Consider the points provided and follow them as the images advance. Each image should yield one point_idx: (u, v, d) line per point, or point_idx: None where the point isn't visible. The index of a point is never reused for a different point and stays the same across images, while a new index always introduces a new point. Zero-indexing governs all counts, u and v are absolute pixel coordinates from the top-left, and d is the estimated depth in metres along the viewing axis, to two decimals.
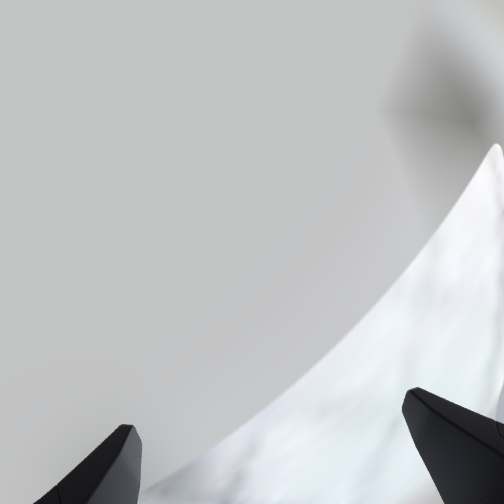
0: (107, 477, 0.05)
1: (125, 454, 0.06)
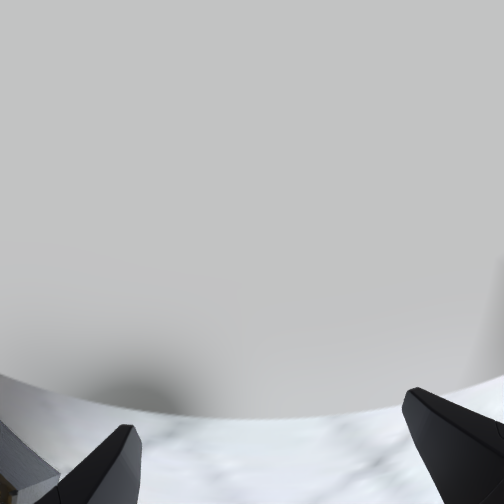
0: (107, 477, 0.05)
1: (125, 454, 0.06)
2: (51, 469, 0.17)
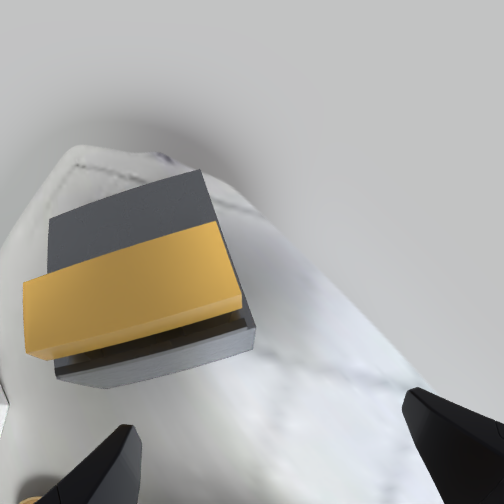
0: (107, 477, 0.05)
1: (125, 454, 0.06)
2: None
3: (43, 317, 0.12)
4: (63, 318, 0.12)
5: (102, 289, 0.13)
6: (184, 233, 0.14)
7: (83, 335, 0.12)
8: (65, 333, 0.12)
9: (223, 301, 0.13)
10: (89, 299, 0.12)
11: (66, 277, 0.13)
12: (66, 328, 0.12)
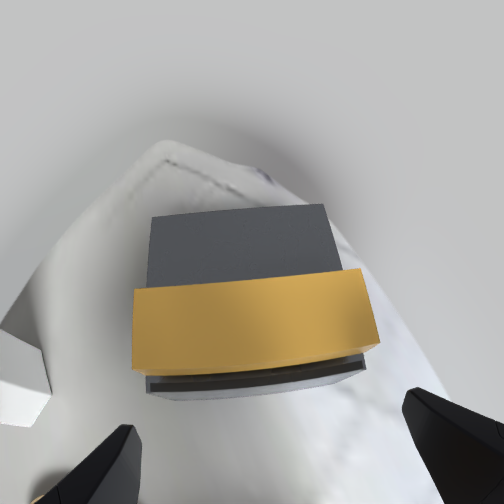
0: (107, 477, 0.05)
1: (125, 454, 0.06)
2: None
3: (161, 334, 0.13)
4: (190, 340, 0.13)
5: (242, 317, 0.13)
6: (332, 275, 0.14)
7: (216, 362, 0.12)
8: (191, 357, 0.12)
9: (362, 347, 0.13)
10: (226, 325, 0.13)
11: (196, 295, 0.14)
12: (193, 351, 0.12)
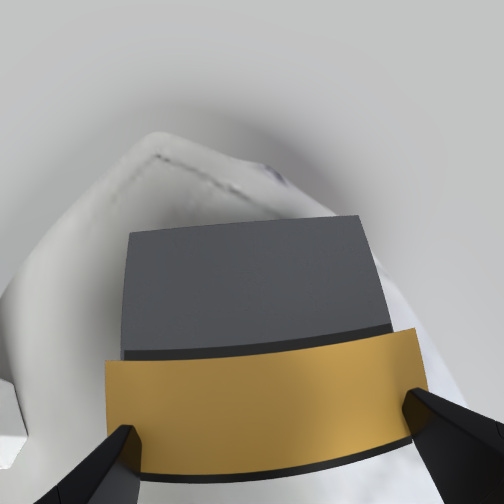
0: (107, 477, 0.05)
1: (125, 454, 0.06)
2: None
3: (145, 428, 0.08)
4: (185, 439, 0.08)
5: (257, 408, 0.09)
6: (380, 342, 0.10)
7: (222, 469, 0.07)
8: (188, 461, 0.08)
9: None
10: (236, 421, 0.08)
11: (192, 377, 0.09)
12: (191, 454, 0.08)
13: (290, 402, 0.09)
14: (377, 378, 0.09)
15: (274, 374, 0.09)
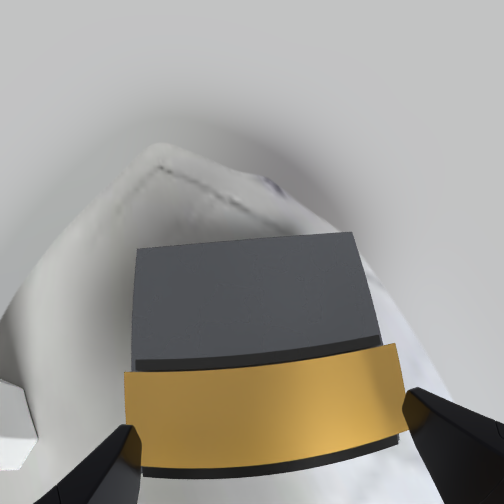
0: (107, 477, 0.05)
1: (125, 454, 0.06)
2: None
3: (160, 429, 0.10)
4: (194, 438, 0.09)
5: (256, 412, 0.10)
6: (363, 355, 0.11)
7: (226, 463, 0.09)
8: (197, 456, 0.09)
9: (391, 434, 0.10)
10: (238, 422, 0.10)
11: (200, 385, 0.10)
12: (199, 451, 0.09)
13: (284, 406, 0.10)
14: (359, 387, 0.10)
15: (270, 383, 0.11)
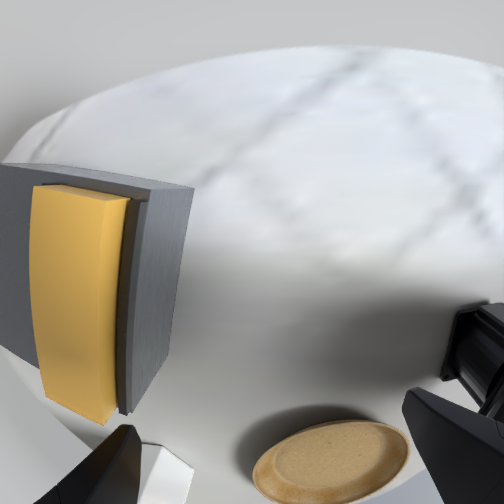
0: (107, 477, 0.05)
1: (125, 454, 0.06)
2: (179, 185, 0.18)
3: (75, 396, 0.12)
4: (78, 380, 0.11)
5: (59, 332, 0.11)
6: (33, 225, 0.10)
7: (95, 371, 0.11)
8: (90, 385, 0.11)
9: (106, 223, 0.10)
10: (66, 348, 0.11)
11: (44, 357, 0.11)
12: (86, 382, 0.11)
13: (56, 311, 0.11)
14: (52, 241, 0.10)
15: (41, 312, 0.11)
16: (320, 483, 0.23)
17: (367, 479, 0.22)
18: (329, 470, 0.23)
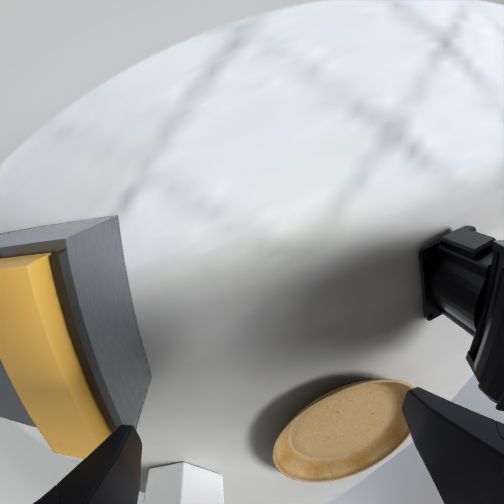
0: (107, 477, 0.05)
1: (125, 454, 0.06)
2: (103, 217, 0.17)
3: (75, 443, 0.11)
4: (70, 429, 0.11)
5: (38, 392, 0.10)
6: None
7: (79, 417, 0.11)
8: (82, 430, 0.11)
9: (34, 284, 0.09)
10: (49, 404, 0.10)
11: (37, 417, 0.11)
12: (77, 428, 0.11)
13: (28, 374, 0.10)
14: (1, 314, 0.09)
15: (17, 379, 0.10)
16: (345, 450, 0.25)
17: (390, 433, 0.24)
18: (348, 436, 0.24)
